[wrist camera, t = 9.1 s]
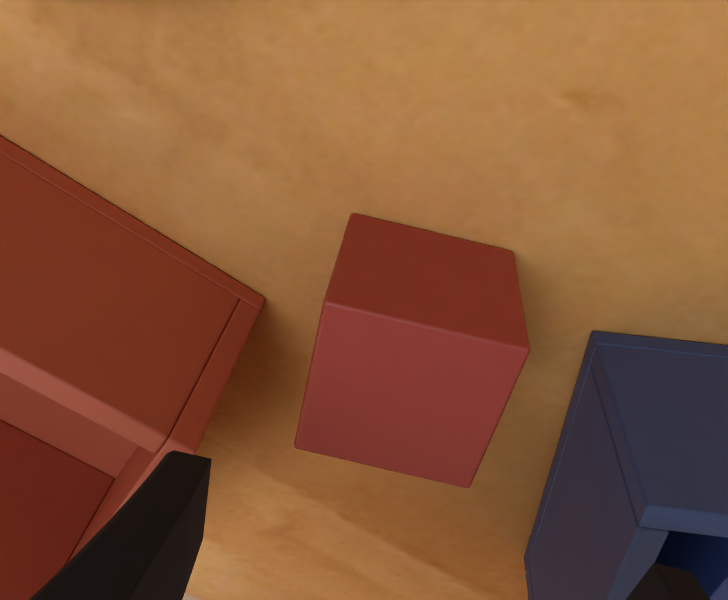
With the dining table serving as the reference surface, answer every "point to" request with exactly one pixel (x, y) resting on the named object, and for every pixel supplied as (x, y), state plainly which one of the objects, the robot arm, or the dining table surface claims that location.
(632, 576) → the blue bin
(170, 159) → the dining table surface
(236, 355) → the red bin
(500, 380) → the red block
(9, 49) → the dining table surface
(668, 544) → the blue block
